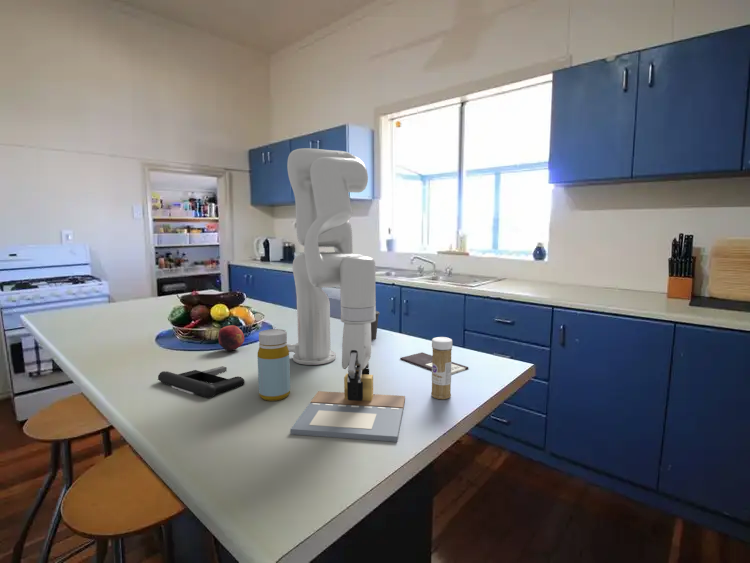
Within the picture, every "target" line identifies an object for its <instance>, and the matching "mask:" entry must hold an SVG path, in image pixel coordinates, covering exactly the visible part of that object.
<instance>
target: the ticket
mask: <svg viewBox="0 0 750 563" xmlns="http://www.w3.org/2000/svg"><path fill="white" fill-rule="evenodd" d="M403 413H404V408H390V407H373V406H356V405H339V404H323V403H310V402H309V403H308V404H307V406H306V408H305V409H304V411H302V413H301V415H300V416H298V418H297V419H296V421H295V423H294V424H292V426H291V428H290V429H289V430H290V432H289V433H290V435H297V436H298V435H299V436H312V437H313V436H314V437H324V438H339V439H354V440H355V439H356V440H365V441H366V440H368V441H380V442H381V441H382V442H395V443H398V440H399V435H400V431H401V430H400V428H401V424H402V418H403Z"/></svg>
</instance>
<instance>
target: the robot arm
mask: <svg viewBox="0 0 750 563" xmlns="http://www.w3.org/2000/svg"><path fill="white" fill-rule="evenodd" d="M286 166H287V175H288V180H289V182H290V186H291V188H292V191H293V196H294V201H295V202H294V203H295V222H296V223H295V226H296V229H295V230H296V238H297V242H298V244H299V245H300V246H302V247H303V251H304V252H303V253H300V254H298V255H296V256H295V258H294V259H293V261H292V273H293V274H292V275H293V279H294V285H295V292H296V318H297V321H296V322H297V342H296V343H294V344H292V343H287V347H288V350H289V353H294V354H293V355H292V360H293V362H295V363H296V364H298V365H299V364H300V365H306V366H316V365H317V366H318V365H319V366H320V365H323V364H324V365H325V364H328V363H331V362H333V361H334V360H336V358H337V357H336V356H337V355H336V352H335V351H332V350H331V309H330V308H331V306H330V298H329V296H328V294H327V293H326V292H325V291H324V290H323V288H324V289H325V288H340V289H339V292H340V293H339V294H340V322H341V323H343V331H342V346H341V347H342V348H341V349H342V350H341V352H342V353H341V368H342V369H343V370H346V369H347V374H348V379H347V396H348V400H352V401H362V400H363V382H361V379H362V374H367V375H370V363H369V361H370V359H371V356H372V355H371V354H372V340H371V323H372V322H374V321H375V320H376V311H377V308H376V307H377V306H376V302H377V301H376V300H377V298H376V294H377V293H376V261H375V259H374V258H373V257H370V256H366V255H364V254H360V253H353V229H352V225H351V222H350V219H351V218H352V216H353V208H352V205H351V199H350V195H349V193H361V192H364V190H365V189H366V187H367V186H368V180H369V174H368V169H367V167H366V165H365V163H364V162H363V160H361V159H360V158H359V157H357V155H356V156H355V155H354V154H352V153H350V152H348V151H343V150H333V149H332V150H331V149H322V148H320V149H319V148H311V147H310V148H308V147H306V148H304V147H303V148H296V149H294V150H292V151H290V152H289V155H288V157H287V164H286ZM320 248H333V250H334V251H320Z"/></svg>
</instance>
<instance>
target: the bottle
mask: <svg viewBox="0 0 750 563" xmlns="http://www.w3.org/2000/svg"><path fill="white" fill-rule="evenodd" d="M287 332H288V331H287V330H286V329H281V328H271V329H265V330H261V331H259V332H258V342H259V343H258V346H259V348H258V351H257V376H258V381H257V382H258V396H259V397H260V398H261V399H262V400H264V401H267V402H268V401H269V402H274V401H275V402H276V401H281V400H284V399H285V398H287V397H288V396H289V395H290V394H291V373H290V372H291V371H290V370H291V369H290V368H291V367H290V366H291V365H290V352H289V350H288V347H287V344H288V342H287V341H288V333H287Z"/></svg>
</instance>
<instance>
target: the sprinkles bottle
mask: <svg viewBox="0 0 750 563" xmlns="http://www.w3.org/2000/svg"><path fill="white" fill-rule="evenodd" d="M431 347H432V348H431V349H432V357H433V358H432V359H433V360H432V371H431V393H430V395H431V396H432V398H434V399H436V400H447V399H449V398H451V397H452V393H451V389H452V388H451V385H452V374H451V362H452V350H453V349H452V348H453V339H452V338H449V337H446V336H437V337H433V338H432V339H431Z"/></svg>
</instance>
